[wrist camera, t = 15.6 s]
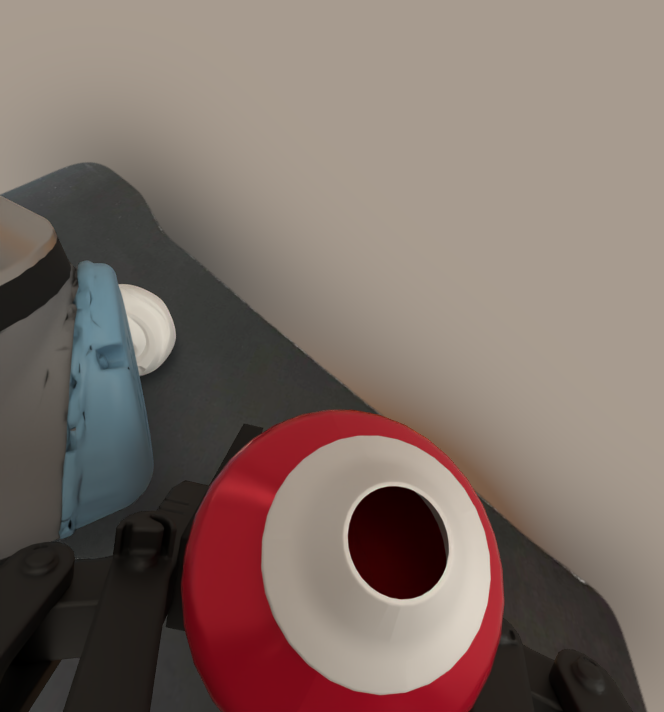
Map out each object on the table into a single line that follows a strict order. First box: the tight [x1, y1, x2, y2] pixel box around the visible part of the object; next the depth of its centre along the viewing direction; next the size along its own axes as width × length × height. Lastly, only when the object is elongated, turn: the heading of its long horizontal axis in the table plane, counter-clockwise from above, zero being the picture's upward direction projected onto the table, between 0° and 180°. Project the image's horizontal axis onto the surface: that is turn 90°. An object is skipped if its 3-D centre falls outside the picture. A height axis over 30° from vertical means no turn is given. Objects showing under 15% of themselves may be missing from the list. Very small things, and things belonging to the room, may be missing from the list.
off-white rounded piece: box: [118, 284, 176, 376], centre depth 36 cm, size 8×8×8 cm
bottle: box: [181, 410, 504, 712], centre depth 13 cm, size 6×5×20 cm
